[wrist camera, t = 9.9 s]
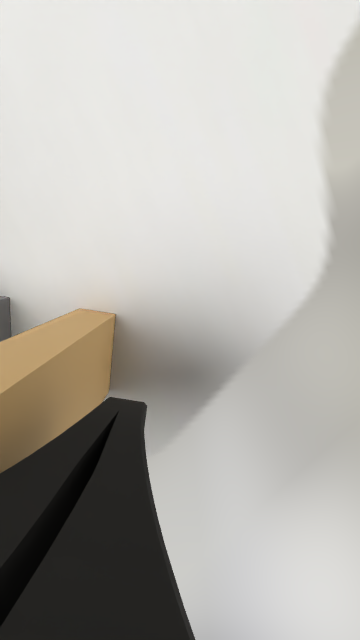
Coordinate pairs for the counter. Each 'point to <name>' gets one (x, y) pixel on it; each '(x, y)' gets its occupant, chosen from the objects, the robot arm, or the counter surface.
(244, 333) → the counter surface
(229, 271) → the counter surface
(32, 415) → the ochre domino
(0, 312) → the slate domino
